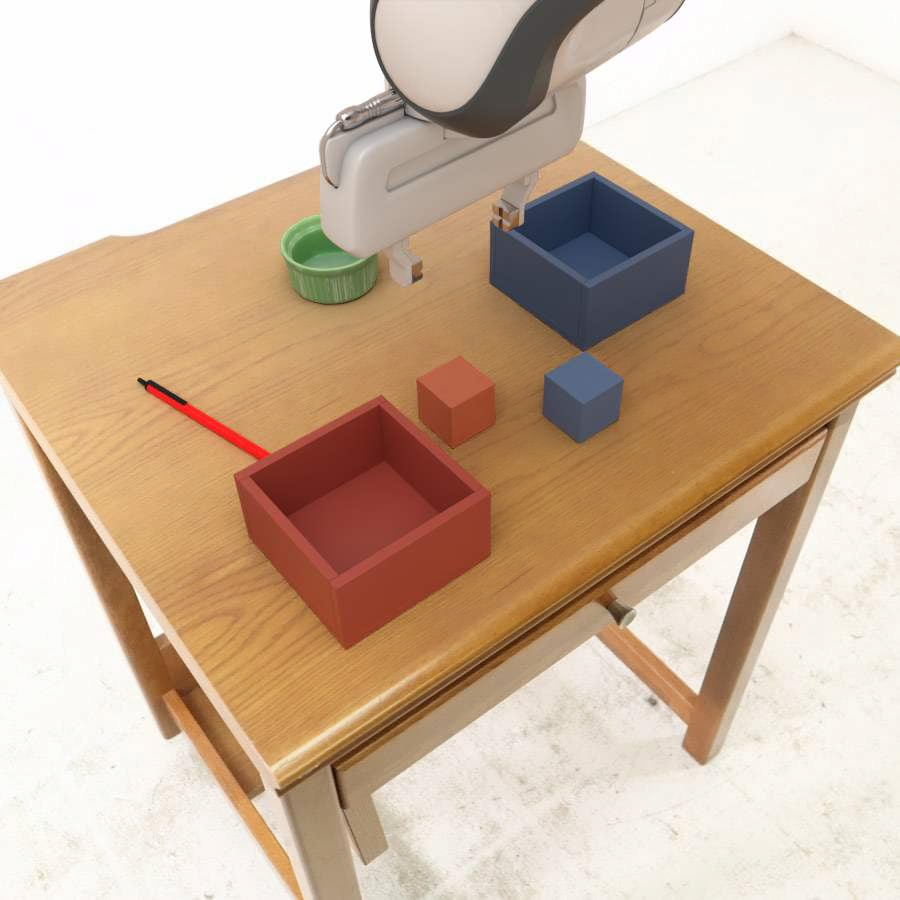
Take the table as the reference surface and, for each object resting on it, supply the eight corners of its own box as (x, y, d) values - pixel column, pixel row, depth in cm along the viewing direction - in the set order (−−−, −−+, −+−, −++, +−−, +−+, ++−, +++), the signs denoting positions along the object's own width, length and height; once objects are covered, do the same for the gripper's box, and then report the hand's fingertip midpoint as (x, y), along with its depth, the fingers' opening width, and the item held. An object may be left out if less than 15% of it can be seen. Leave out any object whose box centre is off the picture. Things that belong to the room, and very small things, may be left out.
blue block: (619, 419, 86) (624, 379, 82) (579, 444, 84) (582, 404, 80) (581, 390, 88) (585, 350, 85) (541, 414, 86) (544, 374, 83)
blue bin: (684, 293, 97) (695, 230, 92) (583, 351, 91) (588, 288, 86) (588, 232, 104) (593, 170, 99) (489, 282, 98) (489, 220, 93)
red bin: (490, 555, 76) (491, 492, 71) (345, 650, 71) (335, 589, 66) (387, 457, 83) (381, 394, 78) (248, 536, 78) (232, 474, 73)
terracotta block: (495, 423, 85) (495, 383, 82) (452, 448, 84) (451, 408, 80) (460, 394, 88) (460, 354, 85) (418, 418, 86) (416, 378, 83)
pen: (144, 380, 90) (141, 370, 89) (308, 481, 82) (306, 470, 81) (136, 386, 90) (133, 376, 89) (300, 487, 81) (298, 477, 81)
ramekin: (277, 262, 101) (270, 222, 98) (368, 243, 103) (365, 204, 100) (297, 318, 95) (291, 278, 92) (394, 297, 97) (391, 257, 94)
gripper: (351, 143, 58) (369, 338, 68) (608, 28, 67) (591, 215, 77) (284, 101, 61) (311, 293, 71) (538, -3, 70) (530, 180, 80)
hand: (458, 252), depth 74 cm, fingers open, 8 cm apart
